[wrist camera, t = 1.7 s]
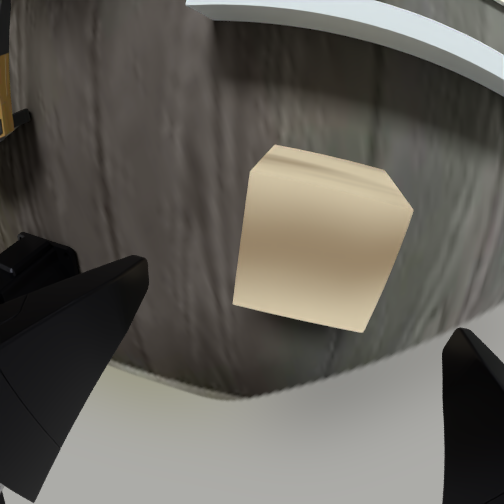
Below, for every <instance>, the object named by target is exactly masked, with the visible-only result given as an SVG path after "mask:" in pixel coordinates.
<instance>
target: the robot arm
mask: <svg viewBox="0 0 504 504" xmlns="http://www.w3.org/2000/svg"><path fill="white" fill-rule="evenodd" d="M148 286H149V276H148V262H147V260H146V259H145V258H144V257H140V256H136V255H131V256H128V257H125V258H123V259H120V260H117V261H114V262H111V263H109V264H106V265H103V266H100V267H98V268H95V269H92V270H89V271H87V272H84V273H81V274H79V272H78V267H77V262H76V257H75V253H74V251H73V249H72V248H70V247H68V246H65V245H62V244H58V243H55V242H52V241H49V240H46V239H43V238H40V237H37V236H34V235H31V234H28V233H25V232H21V233H20V234H18V241H17V242H16V243H14V244H13V245H12V246H10V247H9V248H7V249H6V250H5V251H3V252H2V253H1V254H0V504H5V501H4V497H3V493H2V489H3V488H4V486H6V487H7V488H9V489H10V490H12V491H14V492H15V493H17V494H19V495H20V496H22V497H24V498H26V499H27V500H29V501H31V502H33V503H34V502H35V500H36V498H37V496H38V494H39V492H40V490H41V487H42V485H43V483H44V481H45V479H46V477H47V475H48V473H49V471H50V469H51V467H52V465H53V463H54V461H55V459H56V457H57V455H58V453H59V451H60V447H62V445H63V443H64V441H65V439H66V437H67V435H68V433H69V432H70V430H71V428H72V426H73V424H74V422H75V420H76V419H77V417H78V415H79V413H80V411H81V409H82V408H83V406H84V404H85V402H86V400H87V399H88V397H89V395H90V393H91V391H92V390H93V388H94V386H95V385H96V383H97V381H98V380H99V378H100V376H101V374H102V372H103V371H104V369H105V368H106V366H107V364H108V363H109V361H110V359H111V358H112V356H113V354H114V353H115V351H116V349H117V348H118V346H119V344H120V343H121V341H122V339H123V338H124V336H125V334H126V333H127V331H128V329H129V327H130V325H131V323H132V321H133V319H134V316H135V314H136V312H137V310H138V308H139V306H140V304H141V302H142V300H143V298H144V296H145V294H146V292H147V290H148ZM442 369H443V370H442V373H443V416H444V445H445V460H444V465H445V466H444V488H443V503H442V504H504V364H503V362H501V360H500V359H499V358H498V357H497V356H496V355H495V354H494V353H493V352H492V351H491V350H490V349H489V348H488V347H487V346H486V345H485V344H484V343H483V342H482V341H481V340H480V339H479V338H478V337H477V336H476V335H475V334H474V333H473V332H472V331H471V330H469V329H465V328H457V329H456V330H455V331H454V333H453V335H452V336H451V337H450V339H449V341H448V342H447V344H446V345H445V347H444V349H443V352H442Z"/></svg>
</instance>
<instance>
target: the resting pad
mask: <svg viewBox="0 0 504 504" xmlns="http://www.w3.org/2000/svg"><path fill="white" fill-rule="evenodd" d="M494 1H496V2H497V3H499V4H501V5H502V6H504V0H494Z"/></svg>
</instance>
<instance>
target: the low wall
mask: <svg viewBox="0 0 504 504" xmlns="http://www.w3.org/2000/svg"><path fill="white" fill-rule="evenodd" d="M186 6H188V7H190V8H192V9H193V10H195V11H197V12H199V13H201V14H203V15H204V16H206V17H208V18H210V19H211V20H215V21H243V22H258V23H269V24H278V25H287V26H294V27H301V28H307V29H313V30H319V31H324V32H329V33H334V34H339V35H344V36H348V37H352V38H356V39H360V40H364V41H368V42H372V43H375V44H379V45H382V46H386V47H389V48H392V49H395V50H398V51H401V52H404V53H407V54H410V55H413V56H416V57H419V58H421V59H424V60H427V61H429V62H432V63H434V64H437V65H439V66H442V67H444V68H447V69H449V70H451V71H454V72H456V73H458V74H460V75H462V76H465V77H467V78H469V79H471V80H473V81H475V82H477V83H479V84H481V85H483V86H485V87H487V88H489V89H491V90H492V91H494V92H496V93H498V94H500V95H502V96H503V97H504V55H503V54H501V53H499V52H498V51H496V50H494V49H492V48H491V47H489V46H487V45H485V44H483V43H481V42H480V41H478V40H476V39H474V38H472V37H470V36H468V35H466V34H464V33H462V32H459V31H457V30H455V29H453V28H451V27H448V26H446V25H444V24H441V23H439V22H437V21H434V20H432V19H429V18H427V17H424V16H421V15H419V14H416V13H413V12H410V11H407V10H404V9H401V8H398V7H395V6H392V5H389V4H385V3H382V2H378V1H375V0H186Z"/></svg>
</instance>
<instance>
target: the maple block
mask: <svg viewBox="0 0 504 504" xmlns="http://www.w3.org/2000/svg"><path fill="white" fill-rule="evenodd" d="M413 211H414V210H413V209H412V207H411V206H410V204H409V203H408V202H407V200H406V199H405V197H404V196H403V195H402V193H401V192H400V190H399V189H398V188H397V186H396V185H395V184H394V182H393V181H392V180H391V178H390V177H389V176H388V174H387V173H386V172H385V170H381V169H378V168H374V167H371V166H367V165H363V164H359V163H355V162H351V161H348V160H343V159H339V158H335V157H331V156H327V155H322V154H318V153H313V152H309V151H304V150H299V149H294V148H289V147H284V146H279V145H274V146H273V147H272V148H271V149H270V150H269V151H268V152H267V153H266V154H265V156H264V157H263V158H262V159H261V160H260V161H259V162H258V163H257V164H256V166H255V167H254V168H253V169H252V170H251V171H250V176H249V183H248V190H247V198H246V205H245V213H244V220H243V228H242V235H241V243H240V251H239V258H238V266H237V274H236V282H235V290H234V298H233V304H234V305H238V306H242V307H246V308H250V309H254V310H258V311H263V312H267V313H271V314H275V315H280V316H284V317H289V318H293V319H297V320H302V321H307V322H311V323H316V324H321V325H325V326H330V327H335V328H340V329H345V330H350V331H355V332H360V333H363V332H364V330H365V328H366V326H367V324H368V321H369V319H370V317H371V315H372V313H373V311H374V309H375V307H376V304H377V302H378V300H379V298H380V295H381V293H382V291H383V289H384V286H385V284H386V282H387V279H388V277H389V274H390V272H391V270H392V267H393V265H394V262H395V260H396V257H397V255H398V252H399V250H400V247H401V244H402V242H403V239H404V236H405V234H406V231H407V228H408V225H409V222H410V219H411V217H412V214H413Z"/></svg>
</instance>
